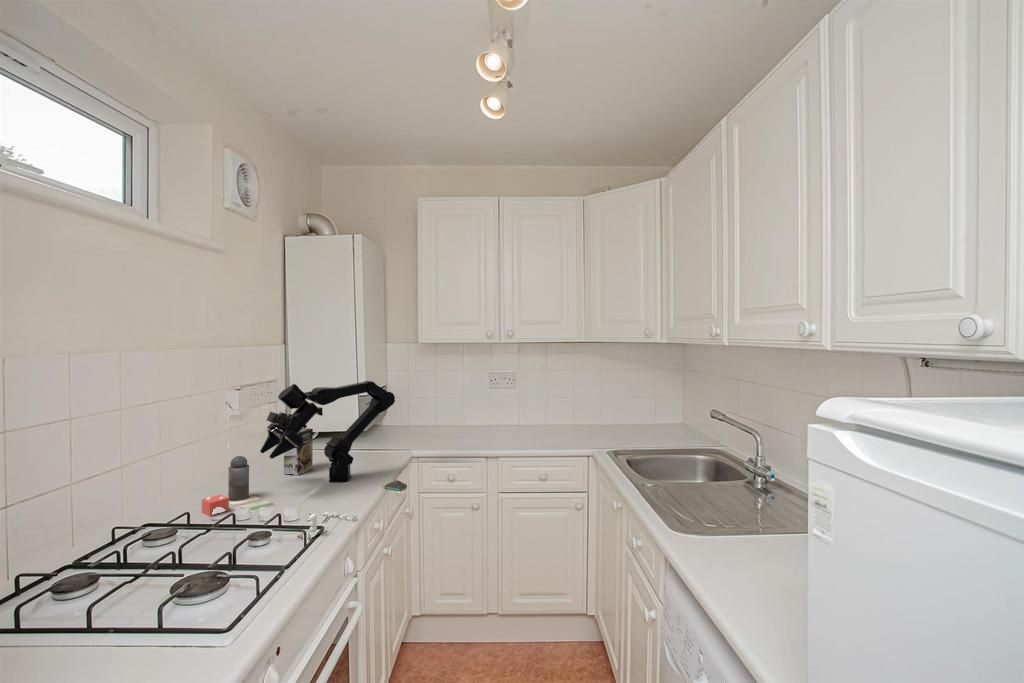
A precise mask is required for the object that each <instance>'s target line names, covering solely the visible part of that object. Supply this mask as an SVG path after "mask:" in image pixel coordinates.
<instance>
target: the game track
mask: <svg viewBox="0 0 1024 683" xmlns="http://www.w3.org/2000/svg"><path fill="white" fill-rule="evenodd" d="M229 504H231V505H233V506H234V507H237V506H241V507H243V508H244V507H249V508H250V512H249V513H255V512H258V511H260V510H259V508H260V507H268V508H270V507H274V506H277V504H276V503H273V502H270V501H269V500H266V499H264V498H260V497H258V496H256V495H254V494H250V493H249V497H248V498H247V499H245V500H241V501H229Z"/></svg>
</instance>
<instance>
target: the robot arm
mask: <svg viewBox="0 0 1024 683" xmlns="http://www.w3.org/2000/svg"><path fill="white" fill-rule="evenodd" d="M365 393H366V394H368V395H369V396H370V397H371V399H370V401H369V405H368V407H367V408H366V409H365V410H364V411H363V412H362V413H361V414H360V415H359V417H357V419H356V420H355V421H354V422H353V423H352V424H351V425H350V426H348V428H347V429H346V430H345V432H343V434H341V435H340V436H337V435H333V436H332V437H331V439H330V440H329V441H328V442H326V443H325V444H326V446H324V449H323V450H324V452H323V453H324V456H325V457H327V458H328V460H329V462H330V467H329V468H328V469H329V470H328V473H329V474H328V479H329V480H328V482H329V483H347V482H348V481H349V480H350V479H351V478H352V477H353V475H351V465H352V464H353V462H354V457H353V456H352V455H351V454H349V453H350V451H351V449H352V445H353V443H354V442H355V441H356V440H357V438H358V437H359V436H360V435H361V434H362V433H363V432H364V430H366V428H367V427H368V426H369V425H370V424H371V423H372V422H373V421H374V420H375V418H376V417H377V416H378V415H380V414H381V413H383V412H385V411H387V410H388V409H389V408H390V407H392V406H393V405H394V403H395V402H396V398H395V395H394V393H393V392H391V391H388V390H386V389H384V388H383V387H381V386H380V385H378V384H376V383H375V382H374V381H371V380H365V381H362V382H357V383H351V384H347V385H342V386H341V385H340V386H337V387H336V386H335V387H331V386H330V387H329V386H324V387H323V386H321V387H320V386H319V387H317V386H316V387H314V388H312V390H310V391H307V392H304V391H302V389H301V388H299V386H298V384H295V383H292V384H291V385H290V386H288V387H286V388H284V389H283V390H282V391H281V392H280V393H279V394H278V396H277V398H278V399H279V401H280V402H282V403H283V404H284V405H285V406H286V407H287V408H289V409H290V410H293V409H295V411H294V412H293V413H288V414H287V413H286V412H282V411H280V412H279V413H276V412H273V411H270V412H269V414H268V415H267V418H266V421H267V422H269V425H268V426H267V427H266V428H267V429H266V432H267V438H266V439H265V442H264V443H263V445H262V446H261V448H260V451H259V452H260V453H261V454H264V453H266V452H268V451H270V450H271V449H273V448H274V447H275V448H274V449H273V450H272V452H271V453H270V455H269V456H268V457H269V458H270V459H271V460H272V459H275V458H276V457H278V456H281V455H284V453H285V452H287V451H289V450H291V449H294V448H296V446H298V447H300V446H301V445H302V443H303V438H302V437H301V436H300V435H298V433H299V431H300V430H301V429H303V428H307V427H308V425H307V424H308V423H309V422H310V421H311V419H312V418H314V416H316V415H318V416H323V407H321V406H326V405H329V404H331V403H333V402H335V401H337V400H339V399H342V398H345V397H350V396H355V395H360V394H365ZM307 400H308V401H307ZM309 401H311V402H309ZM316 404H317V405H321V406H320V407H319V406H317V405H316ZM295 445H296V446H295Z"/></svg>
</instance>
